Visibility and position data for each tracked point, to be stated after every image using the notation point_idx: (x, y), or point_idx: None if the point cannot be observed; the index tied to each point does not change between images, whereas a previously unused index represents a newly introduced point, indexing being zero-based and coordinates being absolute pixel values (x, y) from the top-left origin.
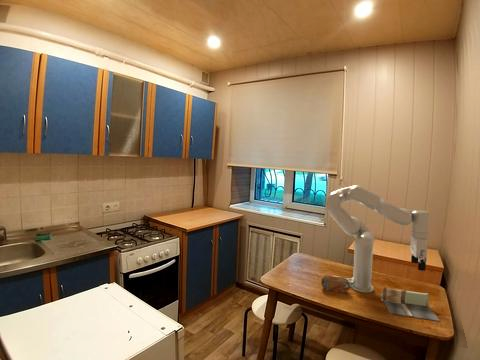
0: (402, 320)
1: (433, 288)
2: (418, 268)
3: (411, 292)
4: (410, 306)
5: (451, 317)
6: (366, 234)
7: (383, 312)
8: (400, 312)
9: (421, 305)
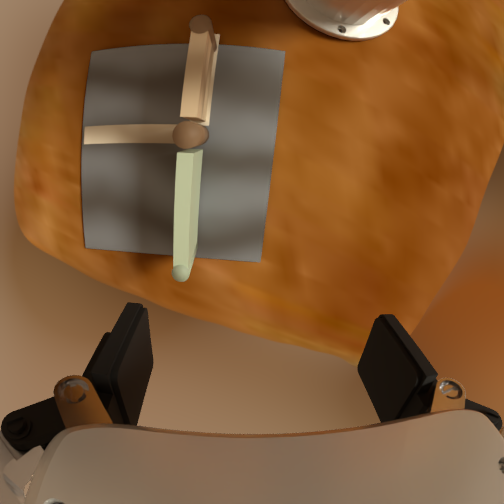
0: (55, 97)
1: None
2: (124, 314)
3: (177, 181)
4: (167, 162)
5: None
6: None
7: (99, 31)
8: (101, 98)
9: None
